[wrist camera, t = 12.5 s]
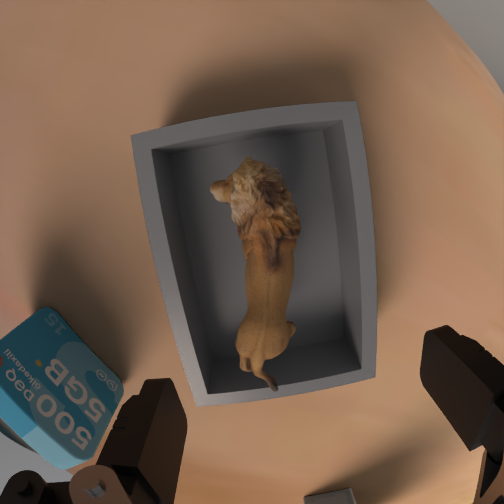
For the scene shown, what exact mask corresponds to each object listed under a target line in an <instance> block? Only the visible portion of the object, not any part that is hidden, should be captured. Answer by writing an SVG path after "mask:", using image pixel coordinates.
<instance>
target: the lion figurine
mask: <svg viewBox="0 0 504 504" xmlns="http://www.w3.org/2000/svg"><path fill="white" fill-rule="evenodd" d="M210 191H211V193H212V194H213V195H214V197H215V199H216V200H217V201H220V202H225V203H227V204H229V205H231V218H232V220H233V221H234V222H235V223H237V230H238V234H239V237H240V239H241V240H242V250H243V252H244V255H245V256H244V258H245V260H246V261H247V262H246V269H245V286H246V297H247V303H248V309H247V313H246V315H245V317H244V319H243V321H242V322H241V324H240V325H239V327H238V333H237V338H236V343H235V344H236V348H237V351H238V352H239V354H240V368H241V369H242V370H243V371H247V372H251V371H253V373H254V374H255V376H257V377H259V378H262V379H264V380H265V381H266V382H267V383H268V386H270V388H271V390H273V391H274V392H276V391H278V386H277V383H276V380H275V379H274V378H273V377H271V376H270V375H269V374H267V373H266V372H264V371H263V370H262V366H263V364H264V361H265V360H266V359H272V358H274V357H276V356H278V355H279V354H281V353H282V352H283V351H284V350H285V349H286V347H287V345H288V343H289V339H290V337H291V336H292V335H293V334H294V332H295V330H296V325H295V324H294V322H292V321H287V320H286V310H287V305H288V301H289V297H290V293H291V288H292V283H293V278H294V255H293V253H294V249H295V248H296V239H297V237H298V236H299V234H300V231H301V227H300V217H299V216H298V215H297V208H296V206H295V204H294V203H293V199H292V193H291V192H290V191H289V190H288V188H287V186H286V184H284V179H283V177H282V176H281V175H280V172H279V170H278V169H277V168H272V167H271V166H270V165H269V164H267V163H263V162H261V161H256V160H253V159H252V158H251V157H250V156H246V157H245V160H244V161H243V162H242V163H241V165H240V167H238V168H237V169H236V171H235V172H234V173H232V174H231V175H229V176H228V178H227V179H226V180H219V181H215V182H214V183H213V184H212V185H211V187H210Z"/></svg>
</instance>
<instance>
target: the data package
mask: <svg viewBox="0 0 504 504" xmlns="http://www.w3.org/2000/svg"><path fill="white" fill-rule="evenodd" d="M123 393H124V389H123V385H122V383H121V381H120V379H119V378H118V377H117V376H116V375H115V374H114V373H113V372H112V371H111V370H110V369H109V368H108V367H107V366H106V365H105V364H104V363H103V362H102V361H101V360H100V359H99V358H98V357H97V356H96V355H95V354H94V353H93V352H92V351H91V350H90V349H89V347H88V346H87V345H86V344H85V343H84V342H83V341H82V340H81V339H80V338H79V337H78V336H77V334H76V333H75V332H74V331H73V330H72V329H71V328H70V326H69V325H68V324H67V323H66V322H65V321H64V320H63V318H62V317H61V316H60V315H59V314H58V313H57V312H56V311H55V310H53V309H52V308H49V307H43V308H41V309H39V310H38V311H37V312H35V313H34V314H33V315H31V316H30V317H29V318H28V319H26V320H25V321H24V322H22V323H21V324H20V325H19V326H17V327H16V328H15V329H13V330H12V331H11V332H10V333H8V334H7V335H6V336H5V337H3V338H2V339H1V340H0V417H1V418H2V419H3V420H4V421H5V422H6V423H7V424H8V425H9V426H10V427H11V428H12V429H13V430H14V431H15V432H16V433H17V434H18V435H19V436H20V437H21V438H22V439H23V440H24V441H25V442H26V443H27V444H28V445H29V446H31V447H32V448H33V449H34V450H35V451H36V452H37V453H39V454H40V455H41V456H42V457H43V458H44V459H46V460H47V461H48V462H49V463H50V464H52V465H53V466H55V467H56V468H59V469H69V468H71V467H74V466H76V465H78V464H81V463H83V462H86V461H88V460H90V459H91V458H92V457H93V456H94V454H95V452H96V450H97V447H98V445H99V443H100V441H101V439H102V437H103V435H104V433H105V431H106V429H107V426H108V424H109V422H110V420H111V418H112V416H113V414H114V412H115V410H116V408H117V406H118V404H119V402H120V400H121V398H122V396H123Z"/></svg>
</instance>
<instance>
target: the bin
mask: <svg viewBox="0 0 504 504" xmlns="http://www.w3.org/2000/svg"><path fill="white" fill-rule="evenodd" d="M131 140H132V147H133V154H134V161H135V167H136V173H137V179H138V185H139V191H140V196H141V201H142V207H143V212H144V217H145V222H146V227H147V232H148V236H149V241H150V245H151V250H152V254H153V259H154V263H155V267H156V271H157V275H158V279H159V283H160V287H161V291H162V295H163V299H164V303H165V306H166V310H167V314H168V317H169V321H170V325H171V328H172V331H173V335H174V338H175V342H176V345H177V348H178V352H179V355H180V358H181V361H182V364H183V368H184V371H185V374H186V377H187V380H188V383H189V386H190V389H191V392H192V395H193V398H194V400H195V403H196V406H197V407H199V406H212V405H223V404H233V403H242V402H250V401H258V400H265V399H272V398H279V397H285V396H291V395H297V394H302V393H308V392H313V391H318V390H323V389H328V388H333V387H337V386H342V385H346V384H350V383H354V382H358V381H362V380H366V379H370V378H374V377H375V373H376V351H377V275H376V253H375V236H374V223H373V212H372V201H371V192H370V183H369V175H368V167H367V160H366V153H365V146H364V140H363V134H362V128H361V122H360V116H359V111H358V106H357V101H343V102H325V103H312V104H300V105H290V106H281V107H272V108H265V109H257V110H250V111H243V112H237V113H231V114H225V115H219V116H214V117H208V118H203V119H198V120H193V121H188V122H184V123H179V124H175V125H170V126H166V127H162V128H158V129H154V130H150V131H146V132H142V133H138V134H135V135H131ZM246 156H250V157H251V158H252V159H253V160H256V161H261V162H263V163H267V164H269V165H270V166H271V167H272V168H277V169H278V170H279V172H280V175H281V176H282V177H283V179H284V184H286V186H287V188H288V190H289V191H290V192H291V193H292V199H293V203H294V204H295V206H296V208H297V215H298V216H299V217H300V227H301V231H300V234H299V236H298V237H297V239H296V248H295V249H294V253H293V255H294V278H293V283H292V288H291V293H290V297H289V301H288V305H287V310H286V320H287V321H292V322H294V324H295V325H296V330H295V332H294V334H293V335H292V336H291V337H290V339H289V343H288V345H287V347H286V349H285V350H284V351H283V352H282V353H281V354H279V355H278V356H276V357H274V358H272V359H266V360H265V361H264V364H263V366H262V370H263V371H264V372H266V373H267V374H269V375H270V376H271V377H273V378H274V379H275V380H276V383H277V386H278V391H276V392H274V391H273V390H271V388H270V386H268V383H267V382H266V381H265V380H264V379H262V378H259V377H257V376H255V374H254V373H253V371H251V372H247V371H243V370H242V369H241V368H240V354H239V352H238V351H237V348H236V344H235V343H236V338H237V333H238V327H239V325H240V324H241V322H242V321H243V319H244V317H245V315H246V313H247V309H248V303H247V297H246V286H245V269H246V262H247V261H246V260H245V258H244V256H245V255H244V252H243V250H242V240H241V239H240V237H239V234H238V230H237V223H235V222H234V221H233V220H232V218H231V205H229V204H227V203H225V202H220V201H217V200H216V199H215V197H214V195H213V194H212V193H211V191H210V187H211V185H212V184H213V183H214V182H215V181H219V180H226V179H227V178H228V176H229V175H231V174H232V173H234V172H235V171H236V169H237V168H238V167H240V165H241V163H242V162H243V161H244V160H245V157H246Z"/></svg>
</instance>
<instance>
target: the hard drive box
mask: <svg viewBox="0 0 504 504" xmlns="http://www.w3.org/2000/svg"><path fill="white" fill-rule="evenodd" d="M304 504H356V501H355V498H354V494H353V491H352V488H347V489H343V490H338V491H334V492H329V493H324V494H318V495H313V496H307V497H304Z"/></svg>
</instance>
